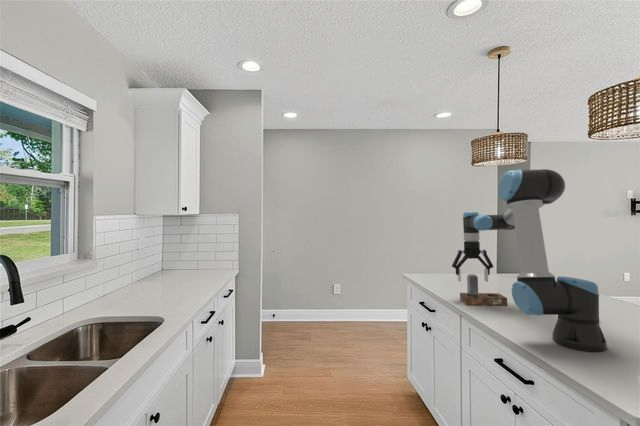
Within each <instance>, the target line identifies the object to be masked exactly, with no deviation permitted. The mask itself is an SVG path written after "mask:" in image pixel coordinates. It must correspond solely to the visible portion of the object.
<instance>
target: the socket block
mask: <svg viewBox="0 0 640 426" xmlns="http://www.w3.org/2000/svg"><path fill="white" fill-rule="evenodd" d="M459 301H460V302H462V303H463V304H464V305H466V306H485V307H487V306H488V307H489V306H490V307H493V306H497V307H502V306H504V307H508V298H507V297H506V296H504V295H503V294H501V293H499V292H498V293H497V292H495V293H494V292H478V296H468V293H467V292H459Z"/></svg>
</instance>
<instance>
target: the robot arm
mask: <svg viewBox="0 0 640 426" xmlns="http://www.w3.org/2000/svg"><path fill="white" fill-rule="evenodd" d="M565 189H566V182H565V180H564V177H563V176H562V175H561V174H560V173H558V172H557V171H555V170H554V169H547V168H546V169H543V168H542V169H516V170H514V169H513V170H508V171H506V172H505V173H504V174H503V175H502V176H501V178H500V181H499V183H498V189H497V192H498V197H499V198H500V199H501V201H502V200H503V201H505V202H506V207H508V208H509V209H507V210H506V211H505V212H504V213H502V214H479V212H478V211H464V212H463V213H462V216H463V217H462V221H463V223H462V224H463V226H462V227H463V241H464V242H463V250H460V249H458V250H457V254H456V256H455V258H454V259H453V262H452V264H451V267H452V268H453V269H455V275H457V281H458V282H462V273H461V267H462V266H463V264H464V263H465V262H466V261H467V260H468V259H470V260H471V259H474V260H476V259H477V260H478V261H479V262H480V263H481V264H482V265H483V266H484V267H485V268H484V269H483V270H484V272H483V273H484V274H483V275H484V282H487V283H488V282H489V276H490V274H491V273H490V272H491V271H490V270H491V269H493V268H494V265H493V263H492V260H491V259H490V257H489V255H488V253H487V250H486V249H482V250H481V248H480V247H481V246H480V245H481V244H480V231H497V230H498V231H511V230H512V231H513V230H514V232H515V240H516V246H517V253H518V260H519V268H520V273H519V274H518V275H517V276H516V279H517V280H516V281H514V282H513V284H512V285H511V286H512V287H511V296H512V300H513V302H514V304H515V305H516V307H517V308H518V310H519V311H521V312H522V313H524V314H525V315H530V316H534V315H535V316H539V317H540V316H544V315H545V316H552V315H557V320H556V323H555V326H554V328H553V330H552V341H554V342H555V343H556V344H557V345H561V346H562V347H566V348H569V349H573V350H577V351H584V352H591V353H592V352H593V353H596V352H605V351H606V350H607V348H608V347H607V346H608V345H607V340H606V338H605V336H604V333H603V331H602V328H601V326H600V325H601V324H600V306H599V305H600V303H599V302H600V298H599V297H600V294H599V286H598V284H596V283H595V282H593V281H590V280H587V279H581V278H576V277H575V278H574V277H570V276H561V275H560V276H556V277H557V278H556V277H555V275H554V274H553V273H551V272H550V271H549V265H548V258H547V252H546V246H545V240H544V233H543V227H542V226H543V225H542V221H541V219H542V218H541V216H540V214H541V213H540V209H541V208H542V207H543V206H545V205H550V204H552V203H554V202H556V201H557V200H558V199H560V198H561V197H562V195H563V194H564V192H565ZM463 254H464V256H463V257H462V258H461V256H462V255H463ZM480 255H482V256H483V258H484V259H485V260H484V259H483V258H482V257H481V256H480ZM460 259H461V260H460Z"/></svg>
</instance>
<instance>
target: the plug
mask: <svg viewBox="0 0 640 426" xmlns="http://www.w3.org/2000/svg"><path fill="white" fill-rule="evenodd" d="M466 281H467V282H466V283H467V284H466V285H467V286H466V287H467V292H466V293H468V296H478V293H479V277H478V276H477V274H474V273H470V274H469V273H468V274H467V276H466Z"/></svg>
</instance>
